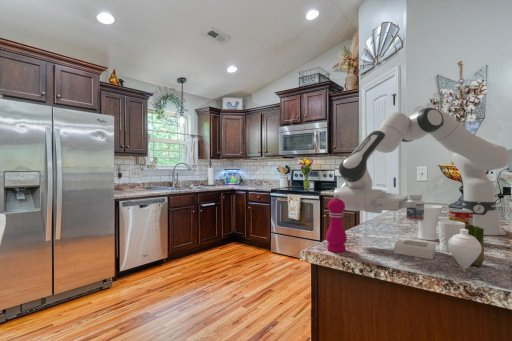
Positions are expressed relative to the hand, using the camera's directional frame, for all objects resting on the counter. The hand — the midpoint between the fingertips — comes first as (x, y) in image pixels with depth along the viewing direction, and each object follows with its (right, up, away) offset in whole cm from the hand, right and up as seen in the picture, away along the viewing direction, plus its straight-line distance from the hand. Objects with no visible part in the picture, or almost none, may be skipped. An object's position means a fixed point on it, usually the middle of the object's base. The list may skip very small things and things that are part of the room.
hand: (418, 204), depth 99 cm
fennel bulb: (+10, -17, -12) cm, 23 cm away
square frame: (-1, -17, +1) cm, 17 cm away
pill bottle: (-1, -6, +1) cm, 6 cm away
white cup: (+13, -17, +2) cm, 22 cm away
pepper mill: (-27, -17, +3) cm, 33 cm away
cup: (+15, -17, +19) cm, 29 cm away
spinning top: (+3, -17, -18) cm, 25 cm away
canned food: (+26, -17, +16) cm, 35 cm away
